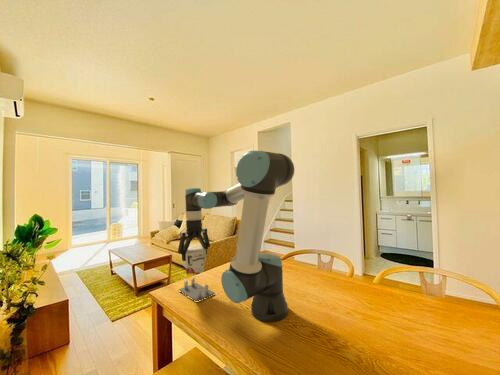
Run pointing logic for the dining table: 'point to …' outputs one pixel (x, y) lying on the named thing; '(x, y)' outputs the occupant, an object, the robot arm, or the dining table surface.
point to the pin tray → (196, 290)
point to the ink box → (195, 259)
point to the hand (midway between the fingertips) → (195, 264)
